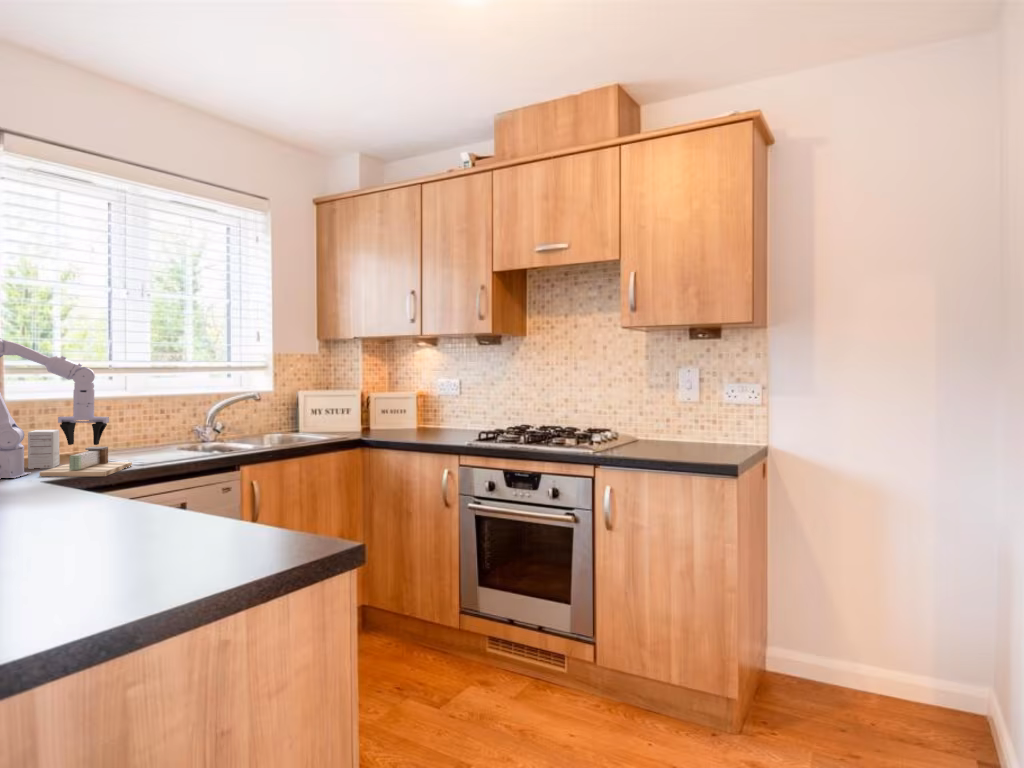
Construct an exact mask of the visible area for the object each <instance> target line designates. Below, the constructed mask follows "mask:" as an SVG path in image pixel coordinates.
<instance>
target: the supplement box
mask: <svg viewBox="0 0 1024 768" xmlns="http://www.w3.org/2000/svg"><path fill="white" fill-rule="evenodd" d="M59 466H60V429H34V430H32V431H27V469H31V470H33V469H34V468H40V469H52V468H55V467H59Z"/></svg>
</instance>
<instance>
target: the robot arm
mask: <svg viewBox="0 0 1024 768" xmlns="http://www.w3.org/2000/svg"><path fill="white" fill-rule="evenodd" d="M3 356H18V357H21V358H24V359H25V360H29V361H31V362H34V363H36V364H38V365H39V364H40V365H42V366H45V368H46V370H47V372H48V373H51V374H54V375H55V376H59V377H61V378H64V379H66V380H68V381H69V380H73V382H74V383H73V384H74V388H73V394H72V395H73V403H72V405H73V406H72V408H73V412H72V413H73V415H72V416H69V415H68V416H58V417H57V423H58V424H59V423H60V424H59V427H60V429H61V430H62V432H63V433H64V436H65V439H66V441H67V444H68V446H72V445H74V444H75V429H76V426H77V425H76V424H81V423H83V424H84V423H85V424H86V423H88V424H90V423H91V428H92V432H93V433H92V435H93V439H92V440H93V441H92V442H93V443H92V444H93V446H98V445H100V440H101V438H102V435H103V433H104V430H105V428H106V427H107V425H108V423H110V416H95V389H94V388H95V384H94V380H95V379H96V375H95V372H94V371H93V369H91V368H89V367H87V366H83V364H82V363H80V362H78V363H76V362H74V361H72V360H68V359H67V357H66V356H64V355H61V356H59V355H55V356H48V355H46V354H43V353H41V352H39V351H36V350H34V349H32V348H30V347H29V346H28V347H27V346H25V345H23V344H21V343H17V342H14V341H11V340H6V339H3V338H0V358H1V357H3ZM24 438H25V432H24V430H23V429H22V428H21V427H20V426H18V424H17V423H16V421H15V419H14V418H13V417H12V415H11V413H10V410H9V409H8V407H7V404H6V402H5V400H4V396H3V395H2V393H1V392H0V480H2V479H1V478H14V479H17V478H19V477H20V476H21V477H24V476H27V474H28V475H31V472H29V471H28V472H27V471H26V472H25V445H23V443H22V442H23V441H24ZM16 477H17V478H16Z"/></svg>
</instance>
